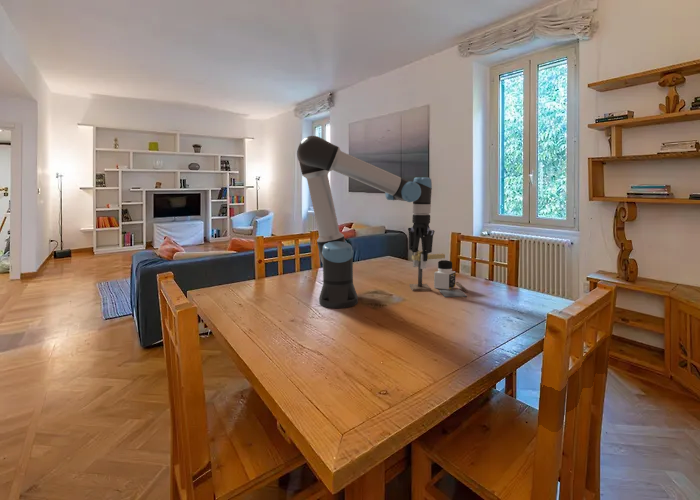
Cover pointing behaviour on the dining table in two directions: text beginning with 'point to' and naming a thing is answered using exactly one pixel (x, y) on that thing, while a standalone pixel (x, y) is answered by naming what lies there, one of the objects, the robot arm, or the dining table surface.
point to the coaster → (453, 293)
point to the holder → (425, 286)
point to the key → (430, 256)
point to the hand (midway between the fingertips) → (419, 267)
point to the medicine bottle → (444, 275)
